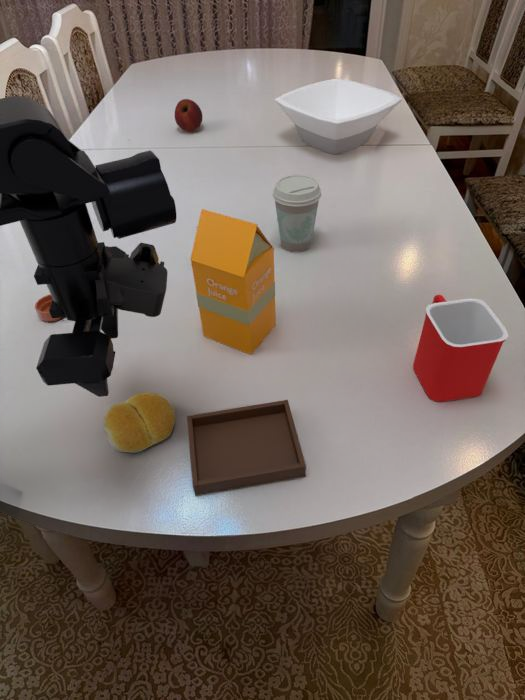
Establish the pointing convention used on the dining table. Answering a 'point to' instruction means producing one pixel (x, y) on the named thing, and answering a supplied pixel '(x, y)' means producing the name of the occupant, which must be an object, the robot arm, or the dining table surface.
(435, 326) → the mug
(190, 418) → the serving tray
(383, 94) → the bowl
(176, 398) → the dining table surface
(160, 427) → the bread roll
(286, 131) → the dining table surface
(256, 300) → the orange juice
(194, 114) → the apple
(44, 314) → the side dish
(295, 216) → the coffee cup
